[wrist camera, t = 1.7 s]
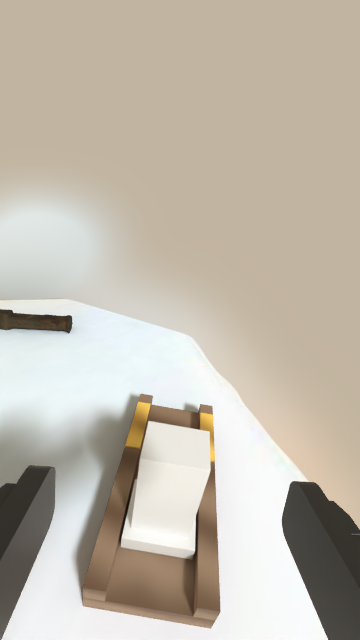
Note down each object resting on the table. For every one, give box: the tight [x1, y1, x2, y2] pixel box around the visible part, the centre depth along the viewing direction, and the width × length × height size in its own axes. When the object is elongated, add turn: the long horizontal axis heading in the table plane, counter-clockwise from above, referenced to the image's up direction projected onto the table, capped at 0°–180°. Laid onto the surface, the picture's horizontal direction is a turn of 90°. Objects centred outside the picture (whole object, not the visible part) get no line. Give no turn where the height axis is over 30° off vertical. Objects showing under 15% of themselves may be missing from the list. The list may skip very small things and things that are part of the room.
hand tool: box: [0, 309, 73, 333], centre depth 63 cm, size 19×4×5 cm, turn 97°
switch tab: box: [121, 421, 211, 560], centre depth 27 cm, size 6×7×13 cm
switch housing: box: [83, 394, 220, 628], centre depth 35 cm, size 24×12×4 cm, turn 176°
